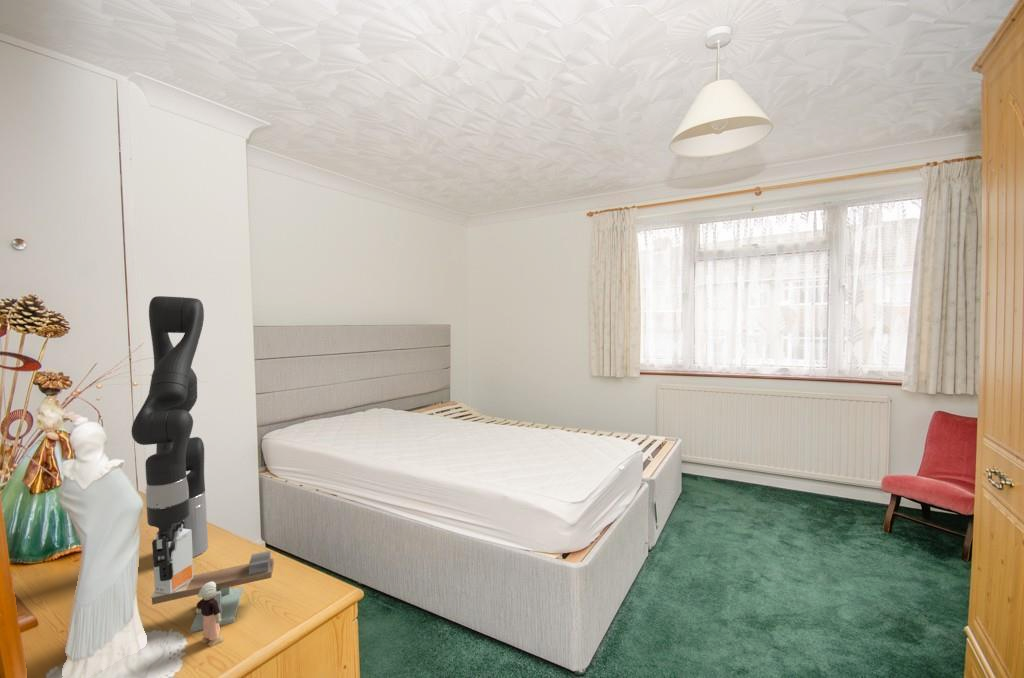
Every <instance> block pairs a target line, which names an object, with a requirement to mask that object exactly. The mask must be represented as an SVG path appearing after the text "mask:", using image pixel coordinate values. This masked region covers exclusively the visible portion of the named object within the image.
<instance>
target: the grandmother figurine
mask: <svg viewBox="0 0 1024 678" xmlns="http://www.w3.org/2000/svg"><path fill="white" fill-rule="evenodd" d="M215 595H216V583H214V582H208V583H206V584H205V585H204V586H203V587H202V588H201V589H200V591H199V594H197V597H198V598H200V600H199V601H198V602H197V603H196V604H195V605H196V608H195V612H196V614H197V613H199V612H200V611H201V613H202V615H203V617H204V618H203V638H201V643H203V644H206V643H208V646H209V647H214V646H215V645H218V644H220V643H222V642H223V641H224V639H225V638H224V636H223V635H222V634H220V632H221V627H220V626H221V625H220V626H219V623H220V622H221V618H220V617H221V615H220V609H219V607H218V602H217V601H216V600H215V599H214V597H215Z"/></svg>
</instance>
